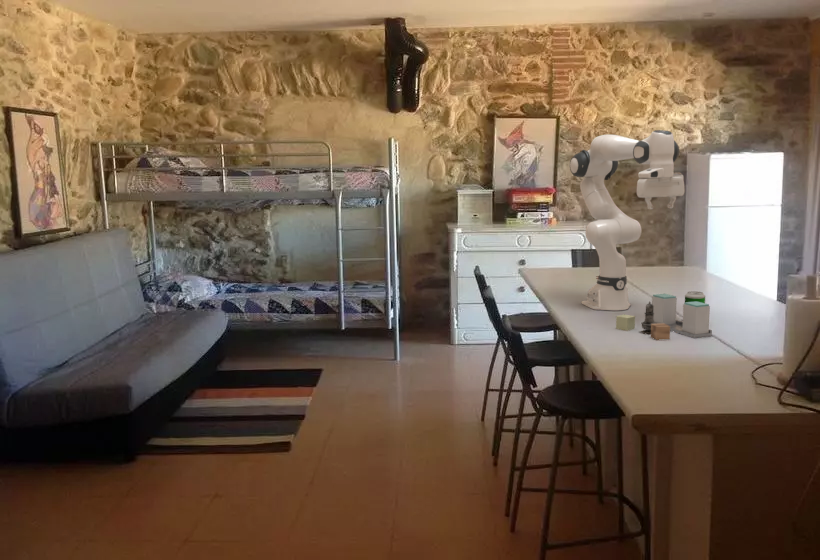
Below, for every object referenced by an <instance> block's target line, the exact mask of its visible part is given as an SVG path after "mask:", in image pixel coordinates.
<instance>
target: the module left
mask: <svg viewBox="0 0 820 560" xmlns="http://www.w3.org/2000/svg"><path fill="white" fill-rule="evenodd" d="M677 299H678V298H677V296H676V295H673V294H669V293H656V294H652V296H651V304H653V306H654V311H653V313H654V317H653V319H654V322H656V323H660V324H661V323H665V324H672V323H676V320H677Z"/></svg>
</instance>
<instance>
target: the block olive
mask: <svg viewBox="0 0 820 560" xmlns="http://www.w3.org/2000/svg"><path fill="white" fill-rule="evenodd" d="M615 319H616V320H615V329H616V330H620V329H621V331H625V330H626V332H628V331H631V330H635V329H636V327H635V326H636V316H635V315H629V314H621V315H619V314H618V315H616V317H615Z"/></svg>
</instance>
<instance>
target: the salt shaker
mask: <svg viewBox="0 0 820 560" xmlns="http://www.w3.org/2000/svg"><path fill="white" fill-rule="evenodd" d="M653 311H654V306H653V304H652V301H649V302H648V303H647V304H645V312H644V317H645V318H644V321H642V322H641V323H640V324H641V327H642V329H643V330H642V331H641V334H644V333H646V334H645V335H651V324H657V323H655V322H654V319H653V317H654V313H653Z"/></svg>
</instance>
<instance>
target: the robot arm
mask: <svg viewBox="0 0 820 560" xmlns="http://www.w3.org/2000/svg"><path fill="white" fill-rule="evenodd" d="M650 133H651V134H650V135H649V136H648V137H645V138H644V139H641V140H638V139H633V138H630V137H626V136H622V135H617V134H603V135H598V136H596V137H594V138H593V140H592V141H591V143H590V147H589V149H588V150H586V149H582V150H581V151H580V152H578V153H576V154H574V155H573V156H572V157H571V159H570V161H569V170H570V172H571V174H572V175H573V176H574V177H578V178H583V179H582V180H581V181H580V184H579V188H580V192H581V195H582V198H583V201H584V204H585V205H586V208H587V210H588V212H589V214H590V216H591V217H592V218H593V219H594V221H591V222H588V224H587V226H586V228H585V232H584V233H585V238H586V240H587V241H588V242H589V244H590V245H592V246H593V247H594V249H595V250H596V252H597V256H598V260H599V263H598V265H599V275H597V276H595V277H596V278H595V279H596V284H595V285H593V286H592V287H591V288H590V289H589V290H588V291H587V296H586V300H582V301H581V304H582V305H583V306H586V307H588V308H590V309H591V310H599V311H601V310H602V311H625V310H628V309H629V308H630V307H631V303H630V301H629V290H628V289H629V288H628V287H627V283H628V281H627V280H628V279H627V278H628V277H627V274H626V273H627V260H626V256H624V255H623V254H621V253H620V252H618V250H617V245H620V244H621V245H623V244H630V243H633V242H637V241H638V240H639V239H640V238H641V235H642V231H643V230H642V226H641V223H640V222H639V221H638V220H636V219H634V218H632V217H631V216H629V215H627V214H626V213H624V212H623V211H622V210H621V208H619V207H618V206H617V205H616V203H615V202H614V200H613V198H612V197H611V194H610V192H609V191H608V189H607V187H606V185H605V181H608V180H610V179H611V178H612V177H611V176H613V175H614V174H615V173H616V171H617V170H618V168H619V167H618V166H619V161H623V160H624V161H625V160H631V159H634V160H635V161H636V163H637V164H641V165H649V168H646V169H644V170H642V171H639V172H638V174H637V177H638V180H637V182H636V183H637V184H636V195H637V198H642V199H644V201H645V203H646V205H647V208H646V209H647V210H654V204H652V202H651V201H652V199H653V198H663V197H665V198H667V197H669V199H670V200H669V203H667V205H666V207H667V209H673V208H674V204H675V202H676V200H677V197H683V196H684V195H685V191H686V190H685V182H684V178H685V177H684V175H683V173H681V172H674V170H675V169H674V168H675V166H674V165H675V164H674V163H675V162H676V161H677V159H678V158H679V155H680V147H679V145H678V143H677V142H676V140H675V138H674V134H673V132H671V131H669V130H663V129H657V130H653V131H652V132H650Z"/></svg>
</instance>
